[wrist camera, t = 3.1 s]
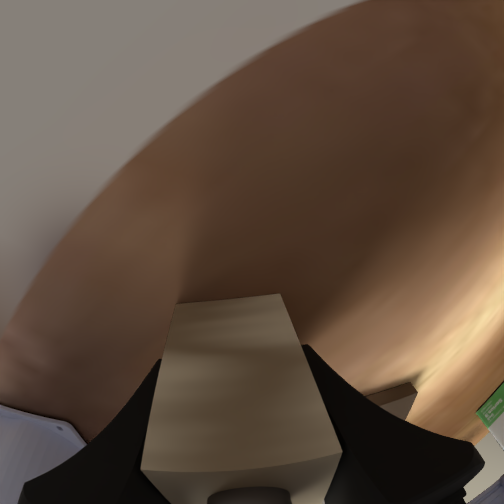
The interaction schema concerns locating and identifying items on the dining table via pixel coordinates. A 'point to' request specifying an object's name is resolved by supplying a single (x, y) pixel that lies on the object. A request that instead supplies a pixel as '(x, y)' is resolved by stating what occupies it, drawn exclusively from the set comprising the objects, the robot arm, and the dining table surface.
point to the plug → (238, 410)
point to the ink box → (494, 415)
